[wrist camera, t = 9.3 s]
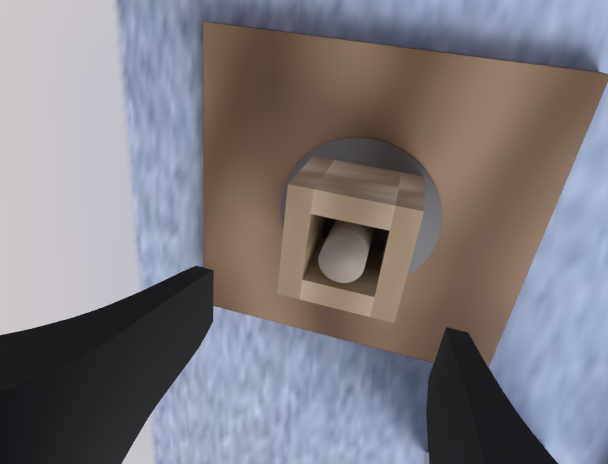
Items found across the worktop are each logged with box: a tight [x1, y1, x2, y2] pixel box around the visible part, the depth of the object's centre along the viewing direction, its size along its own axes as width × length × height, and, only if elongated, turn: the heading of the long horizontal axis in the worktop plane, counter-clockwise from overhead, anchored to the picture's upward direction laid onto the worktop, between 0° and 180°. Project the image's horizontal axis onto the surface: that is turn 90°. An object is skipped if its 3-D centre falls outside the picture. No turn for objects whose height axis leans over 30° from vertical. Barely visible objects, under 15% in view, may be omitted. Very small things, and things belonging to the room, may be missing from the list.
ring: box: [277, 156, 424, 323], centre depth 18 cm, size 5×5×4 cm
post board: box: [203, 22, 608, 367], centre depth 18 cm, size 16×15×6 cm
